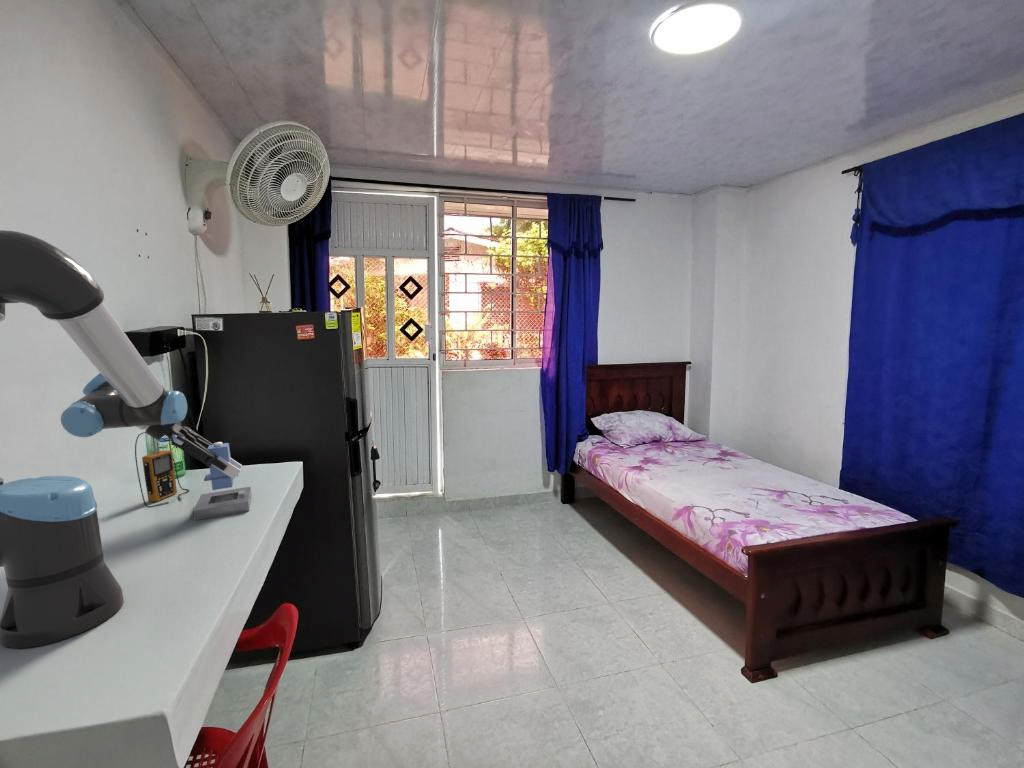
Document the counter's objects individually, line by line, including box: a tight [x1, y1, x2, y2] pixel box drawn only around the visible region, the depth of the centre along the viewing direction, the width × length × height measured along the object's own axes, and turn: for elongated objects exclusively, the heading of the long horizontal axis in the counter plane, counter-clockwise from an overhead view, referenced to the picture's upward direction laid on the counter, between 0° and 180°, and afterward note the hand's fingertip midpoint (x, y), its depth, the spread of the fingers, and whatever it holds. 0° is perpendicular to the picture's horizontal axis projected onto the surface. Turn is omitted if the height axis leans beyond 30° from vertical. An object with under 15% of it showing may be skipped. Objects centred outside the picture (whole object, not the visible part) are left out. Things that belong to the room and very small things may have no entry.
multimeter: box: [134, 431, 190, 508], centre depth 140 cm, size 15×10×20 cm
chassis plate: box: [193, 486, 253, 521], centre depth 132 cm, size 14×12×3 cm
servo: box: [203, 441, 239, 491], centre depth 131 cm, size 4×8×12 cm, turn 115°
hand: (237, 472), depth 133 cm, fingers closed on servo, 4 cm apart
